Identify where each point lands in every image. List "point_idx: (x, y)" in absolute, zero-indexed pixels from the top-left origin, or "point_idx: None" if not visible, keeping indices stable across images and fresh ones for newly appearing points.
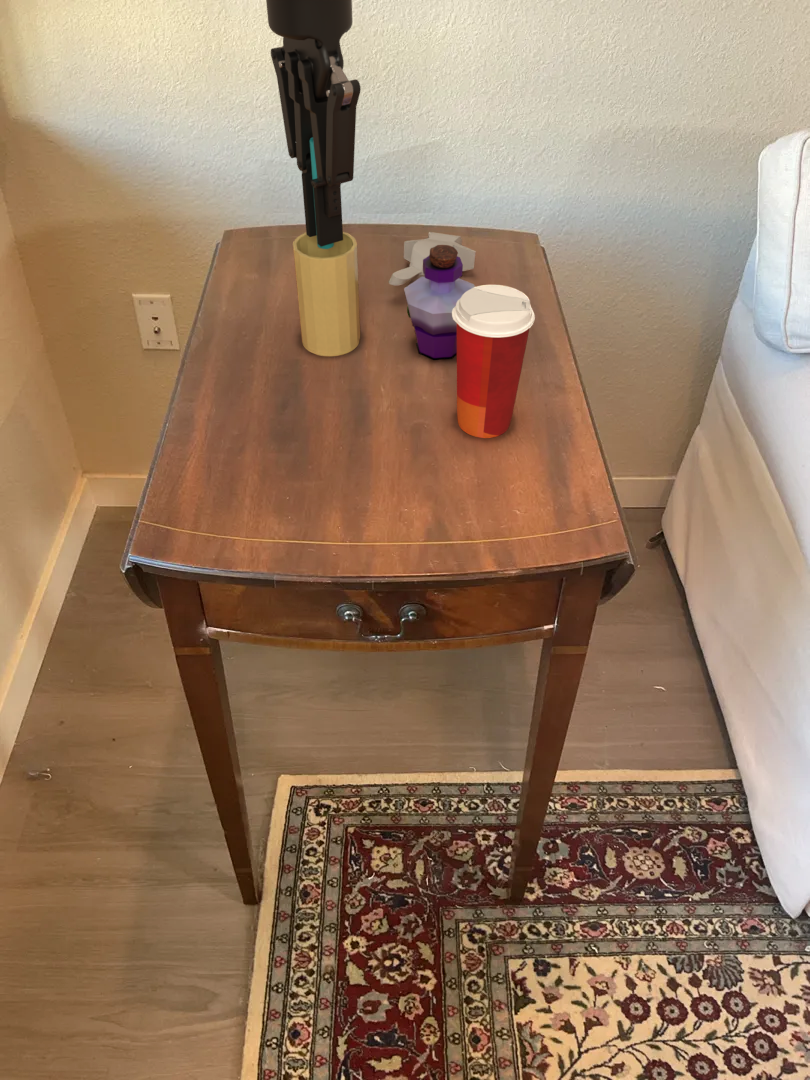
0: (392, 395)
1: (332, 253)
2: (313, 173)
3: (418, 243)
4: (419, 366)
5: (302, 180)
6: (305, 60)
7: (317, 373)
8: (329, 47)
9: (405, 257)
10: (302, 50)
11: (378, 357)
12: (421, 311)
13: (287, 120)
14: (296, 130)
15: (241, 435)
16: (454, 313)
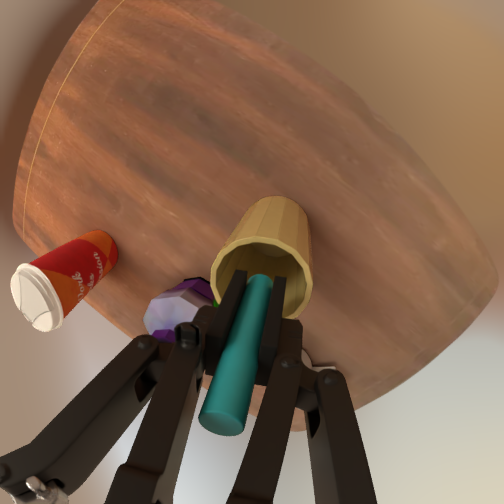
0: (159, 215)
1: (290, 296)
2: (235, 356)
3: None
4: (183, 263)
5: (277, 337)
6: None
7: (231, 178)
8: None
9: (332, 367)
10: None
11: (218, 245)
12: (165, 297)
13: (334, 440)
14: (283, 427)
15: (190, 63)
16: (40, 274)
